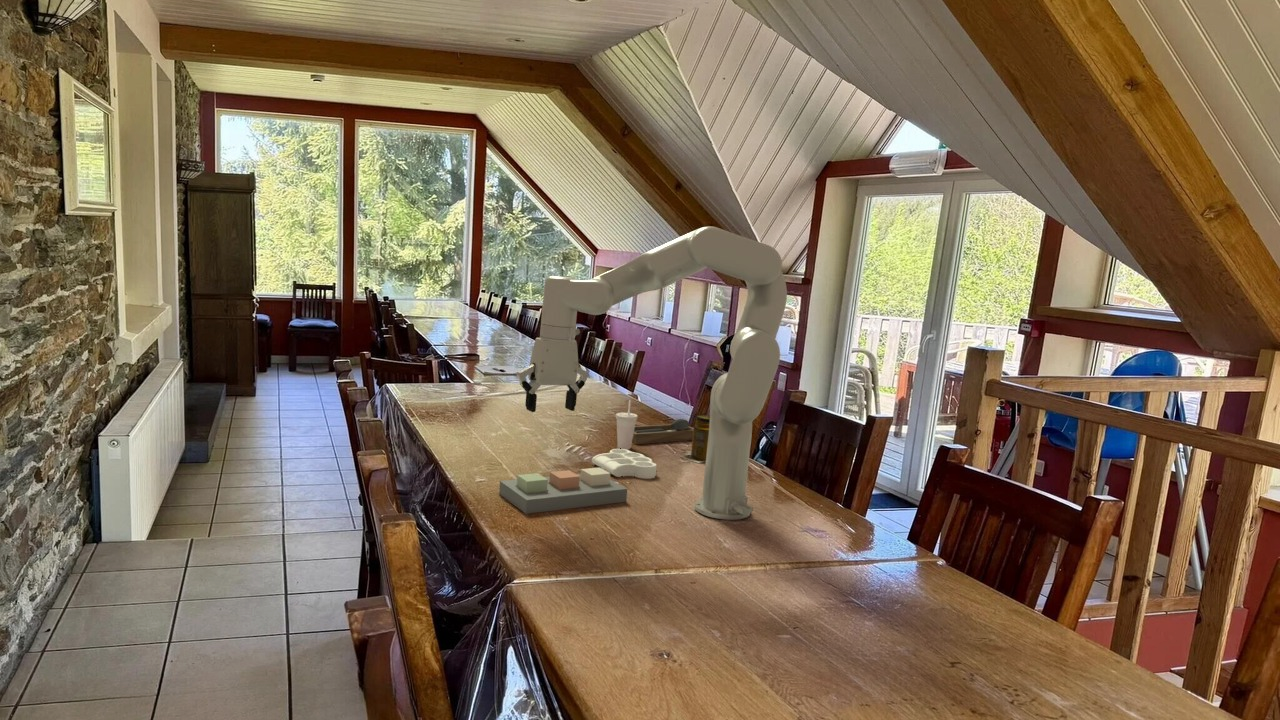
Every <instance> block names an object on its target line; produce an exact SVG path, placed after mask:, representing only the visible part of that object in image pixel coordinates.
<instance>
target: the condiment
mask: <svg viewBox="0 0 1280 720" xmlns="http://www.w3.org/2000/svg"><path fill="white" fill-rule="evenodd" d="M709 424H710V415H705V414H700V415H696V417H695V423H694V425H693V428H694V430H693V440H691V441H692V442H691V451H690V452H691V453H690V454H686V455H680V456H679V457H680V458H682V459H685V460H688V461H690V462H693V463H697V464H701V463H706V454H707V444H708V435H709Z"/></svg>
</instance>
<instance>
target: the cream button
mask: <svg viewBox="0 0 1280 720" xmlns="http://www.w3.org/2000/svg"><path fill="white" fill-rule="evenodd" d="M580 473H581V475H580V481H582V482H584V483H585V484H587V485H589V486H599V485H608V484H610V479H611V473H609V472H608V471H606V470H604V469H602V468H601V467H599V466H598V467H591V468H590V467H589V468H581V469H580Z"/></svg>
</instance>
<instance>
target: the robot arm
mask: <svg viewBox="0 0 1280 720" xmlns="http://www.w3.org/2000/svg"><path fill="white" fill-rule="evenodd" d="M705 269H710V270H713V271H715V272H718V273H720V274H723V275H726V276H729V277H732V278H736V279H738V280H741V281H744V282H745V284H746V288H747V290H746V291H747V297H746V301H745V305H744V307H743V312H742V315H741V317H740V319H739V322H738V325H737V328H736V331H735V333H734V335H733V338H732V340H731V341H730V347H729V354H730V356H731V359H732V360H731V362H730V366H729V369H728V372H725V373H723V374H721V375H720V376H719V377H718V378H717V379H716V380H715V381H714V383H713V385H712V388H711V391H710V398H709V399H710V402H709V403H710V404H709V416H710V424H709V435H708V444H707V454H706V462H705V465H704V466H705V467H704V477H703V486H702V487H703V488H702V497H701V498H699V499H697V500H696V501H695V502H694V509H695V511H696V512H697V513H699V514H701V515H703V516H706V517H709V518H711V519H712V518H713V519H718V520H723V521H724V520H727V521H735V520H744V519H746V518H748V517H750V515H751V513H753V511H754V507H753V506H751V505H750V504H748V500H749V499H748V498H749V497H748V496H747V495H746V489H747V481H748V471H749V463H750V462H749V461H750V451H751V444H752V433H753V421H754V420H755V419H757V417H758V416H759V415H760V413H762V410H763V407H764V405H765V403H766V401H767V398H768V395H769V392H770V390H771V387H772V385H773V382H774V380H775V377H776V373H777V371H778V368H779V364H780V360H781V348H780V346H779V343H778V340H777V339H776V337H777V334H778V332H779V329H780V326H781V323H782V319H783V316H784V314H785V310H786V307H787V306H786V305H787V300H788V298H787V297H788V291H787V290H788V289H787V284H786V280H785V279H786V278H785V277H784V276H785V275H784V274H783V271H782V269H783V261H782V257H781V255H780V253H779V251H778V250H776V249H775V248H774V247H773V246H771V245H769V244H766V243H763V242H760V241H758V240H754V239H751V238H749V237H745V236H743V235H739V234H736V233H733V232H730V231H727V230H725V229H722V228H719V227H717V226H709V225H708V226H703V227H700V228H697V229H695V230H692V231H690V232H688V233H686V234H683V235H681V236H679V237H677V238H675V239H673V240H670V241H667V242H666V243H664V244H661V245H660V246H656V247H655V248H653V249H650V250H648V251H646V252H644V253H642V254H640V255H638V256H637V257H635V258H634V259H632V260H630V261H628V262H626V263H624V264H621V265H619V266H618V267H615V268H613V269H611V270H608V271H606V272H604V273H601V274H599V275H597V276H595V277H593V278H590V279H584V280H583V279H581V280H579V279H576V278H574V277H570V276H561V275H550V276H549V275H548V276H547V277H546V278H545V281H544V286H543V297H542V309H541V319H540V330H539V337H536V338H535V339H534V343H533V346H532V351H531V355H530V361H529V365H528V366H527V367H525V368H523V369H522V370H521V369H520V370H519V371H517V372H516V377H517V379H518V382H519V385H520V386H521V387H522V389H523V390H524V392H525V393H526V395H525V407H526V408H525V409H526V410H527V411H529V412H530V413H535V412H536V409H537V399H538V398H537V396H538V394H536V391H537V390H538V389H539V388H540V387H541V386H566V387H567V389H568V390H567V391H566V394H565V405H564V407H565V409H566V410H568V411H571V412H574V411H575V409H576V405H577V396H578V393H580V391H581V389H582V388H583V387H584V386H585V385H586V382H587V380H588V378H589V376H590V373H589V372H587V370H584V369H583V368H581V367H579V353H578V351H579V349H578V343H577V340H576V339H575V338H576V336H578V335H580V333H581V331H580V329H579V328H577V326H576V324H577V316H578V312H580V313H585V314H588V315H593V316H594V315H595V316H599V315H602V314H605V313H606V312H608V311H610V309H611V308H612V307H613V306H615V305H617V304H619V303H621V302H623V301H626V300H628V299H631V298H632V297H635V296H638V295H641V294H643V293H647V292H653V291H658V290H660V289H664V288H666V287H668V286H670V285H672V284H675V283H677V282H680V281H681V280H683V279H686V278H688V277H690V276H692V275H695V274H697V273H698V272H699V273H700V272H702V271H703V270H705ZM578 375H579V378H577V377H578ZM527 377H528V380H529V382H528V381H527Z"/></svg>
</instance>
